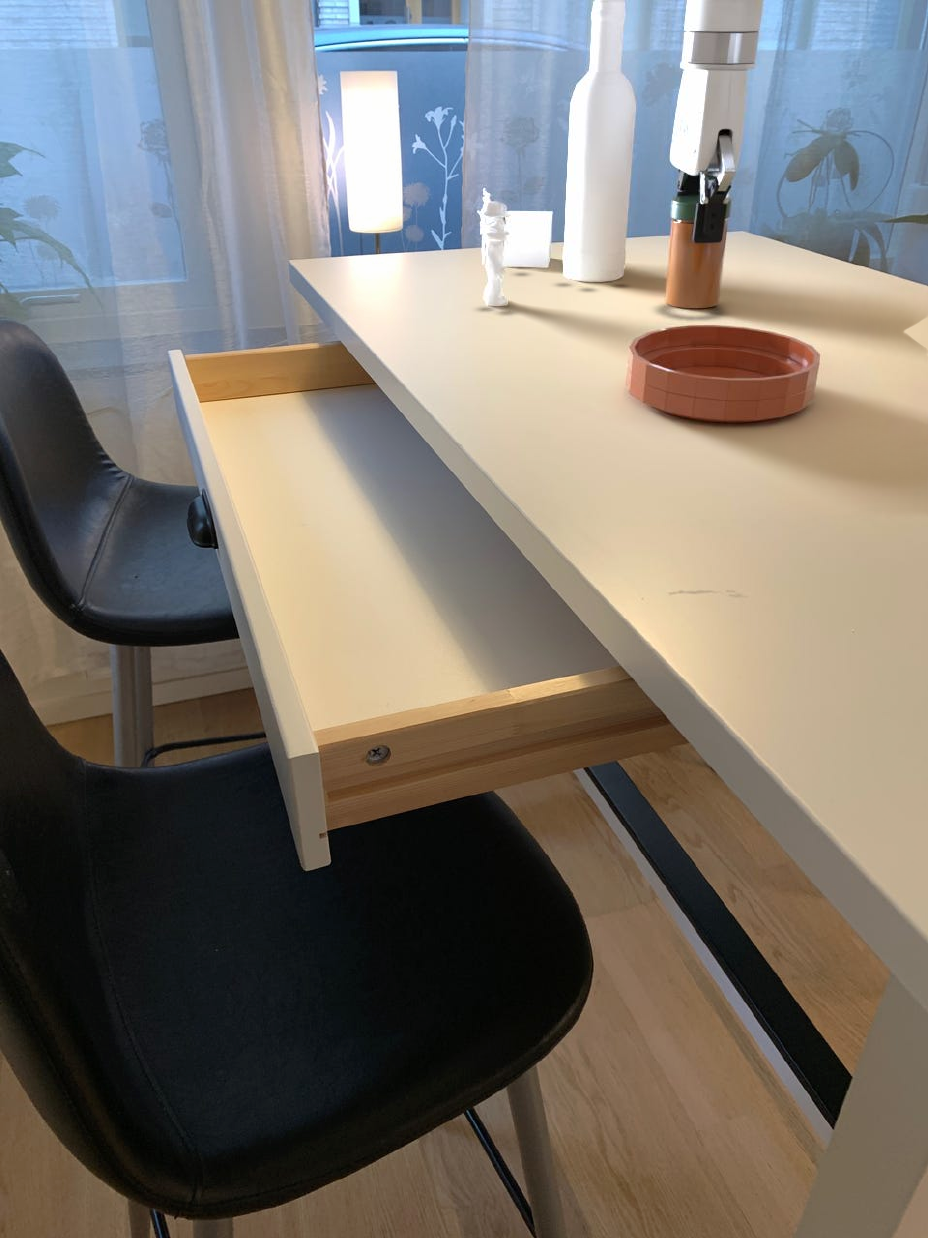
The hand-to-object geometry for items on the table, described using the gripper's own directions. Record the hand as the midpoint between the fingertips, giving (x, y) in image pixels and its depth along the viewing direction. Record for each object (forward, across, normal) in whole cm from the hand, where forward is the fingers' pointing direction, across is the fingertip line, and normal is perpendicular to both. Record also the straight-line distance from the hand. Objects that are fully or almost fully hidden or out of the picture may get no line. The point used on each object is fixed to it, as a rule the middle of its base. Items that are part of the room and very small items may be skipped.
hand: (696, 233), depth 111 cm
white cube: (+8, -24, -15) cm, 29 cm away
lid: (-3, 0, 0) cm, 3 cm away
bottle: (+8, -15, -8) cm, 18 cm away
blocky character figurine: (+8, -3, -22) cm, 24 cm away
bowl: (+7, +32, -7) cm, 33 cm away
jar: (+7, 0, 0) cm, 7 cm away
